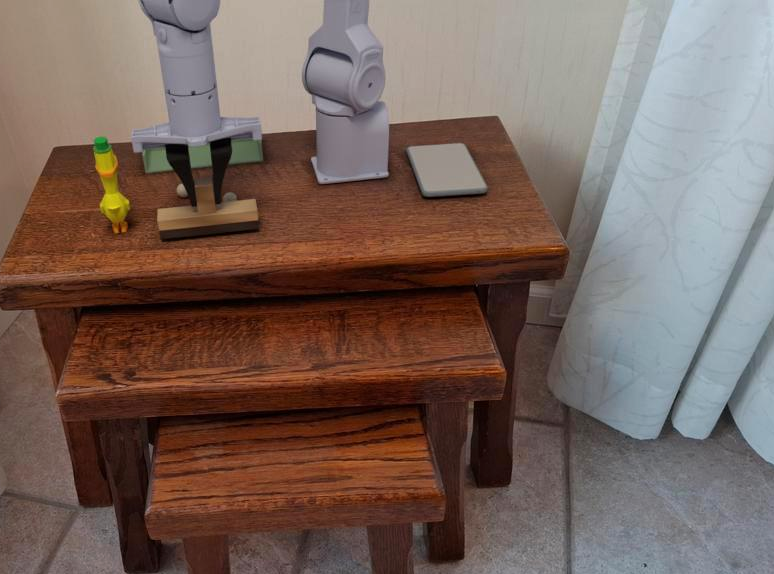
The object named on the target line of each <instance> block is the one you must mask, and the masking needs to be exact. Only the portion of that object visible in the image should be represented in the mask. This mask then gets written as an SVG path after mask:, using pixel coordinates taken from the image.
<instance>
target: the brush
mask: <svg viewBox="0 0 774 574" xmlns="http://www.w3.org/2000/svg"><path fill="white" fill-rule="evenodd" d="M193 180H194V188H195V195H196V201H197V207H191V205H184V206H183V205H182V206H175V207H173V206H172V207H164V208H157V211H156V212H157V215H156V217H157V218H156V222H157V227H158V233H159V238H160V240H167V239H176V238H186V237H195V236H204V235H213V234H222V233H223V234H225V233H232V232H233V233H234V232H240V231H241V232H242V231H251V230H252V231H253V230H259V229H260V225H259V214H258V213H259V211H258V206H257V201H256V198H250V199H241V200H237V201H229V202H223V201H221V204H216V205H215V199H214V187H213V176H208V177H198V178H193Z"/></svg>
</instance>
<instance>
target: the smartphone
mask: <svg viewBox="0 0 774 574" xmlns="http://www.w3.org/2000/svg"><path fill="white" fill-rule="evenodd" d="M405 150H406V151H405V152H406V155H407V158H408V160H409V164H410V165H411V168H412V171H413V174H414V176H415V179H416V182H417V184H418V187H419V189H420V192H421V195H422V196H423V197H425V198H435V197H437V198H438V197H451V196H466V195H468V196H469V195H482V194H486V193H487V192H488V190H489V187H488V184H487V183H486V180H485V179H484V177H483V175H482V173H481V171H480V169H479V167H478V165H477V163H476V161H475V160H474V158H473V156H472V154H471V153H470V150H469V149H468V147H467V145H466V144H465V143H462V142H453V143H439V144H437V143H436V144H425V145H424V144H423V145H422V144H421V145H411V146H410V145H409V146H408V147H407V148H406V149H405Z"/></svg>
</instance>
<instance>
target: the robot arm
mask: <svg viewBox="0 0 774 574" xmlns="http://www.w3.org/2000/svg"><path fill="white" fill-rule="evenodd" d="M137 1H138V4H139V7H140V9H141V11H142V13H143V14H144V15H145V16H146V18H148V20H149V21H150V22H151V25H152V30H153V36H155V38H156V44H157V50H158V58H159V64H160V72H161V78H162V84H163V90H164V96H165V103H166V109H167V115H168V122H163V123H161V124H156V125H152V126H149V127H143V128H138V129H131V132H130V139H131V145H132V150H133V151H132V152H133V153H134V154H139V153H142V152H143V151H144V150H145V149H155V148H165V149H166V158H167V161H168V163H169V165H170V166H171V167H172V168H173V170H174V173H175V174H176V176H177V177H178V179H179V180H180V183H181V184H183V186H184V188H185V190H186V192H187V194H188V196H187V197H188V199H189V202H190V206H191V207H197V201H196V195H195V188H194V177H193V172H192V171H193V170H192V169H191V164H190V156H189V148H188V146H189V147H198V146H205V145H206V144H207V143H210V153H211V161H212V167H211V168H212V178H213V187H214V199H215V205H216V204H221V202H222V191H223V190H222V189H223V184H224V179H225V176H226V173H227V172H226V171H227V169H228V167H229V165H228V164H229V161H230V159H231V155H232V144H231V141H232V140H242V139H252V140H251V141H256V140H261V141H262V140H263V132H262V122H261V118H260V116H254V117H238V116H234V117H233V116H221V110H220V100H219V92H218V91H219V90H218V82H217V74H216V64H215V63H216V62H215V54H214V45H213V37H212V26H211V23H212V21H213V20H214V19H215V18H217V16H218V14H219V11H220V6H221V0H137ZM369 11H370V0H323V11H322V13H323V15H322V24H321V26H320V27H319V28H318V29H317V30H316V31H314V32H313V33H312V34H311V35H310V36H309V38H308V44H307V53H306V57H305V59H304V62H303V65H302V69H301V82H302V86H303V88H304V90H305V91H306V92H307V93H308V94H309V95H311V104H312V105H314V106H315V134H316V135H315V137H316V156H312V157H311V158H310V162H311V165H312V169H313V171H314V174H315V177H316V180H317V183H318V184H319V185H327V184H337V183H347V182H356V181H366V180H375V179H377V180H378V179H386V178H389V176H390V173H389V171H388V170H389V145H390V120H389V111H388V108H387V104H386V102H385V101H379V100H380V99H381V97H382V95H383V93H384V91H385V86H386V69H385V66H384V46H383V44H382V43H381V41H380V40H379V39H378V37H377V36H376V34H375V33H374V32H373V31H372V29H371V28H370V26H369V25H368V24H369V23H368V22H369V13H370V12H369ZM165 149H164V150H165Z"/></svg>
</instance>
